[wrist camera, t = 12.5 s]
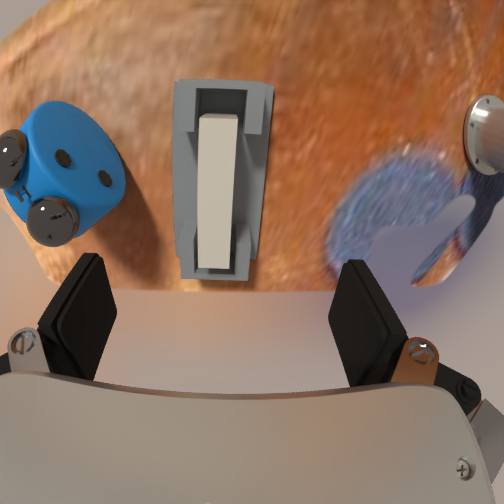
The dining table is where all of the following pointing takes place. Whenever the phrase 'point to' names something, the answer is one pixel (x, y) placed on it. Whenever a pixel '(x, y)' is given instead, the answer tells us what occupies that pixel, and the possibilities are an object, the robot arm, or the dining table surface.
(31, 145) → the alarm clock
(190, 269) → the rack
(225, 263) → the light grey rectangular block
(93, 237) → the dining table surface
